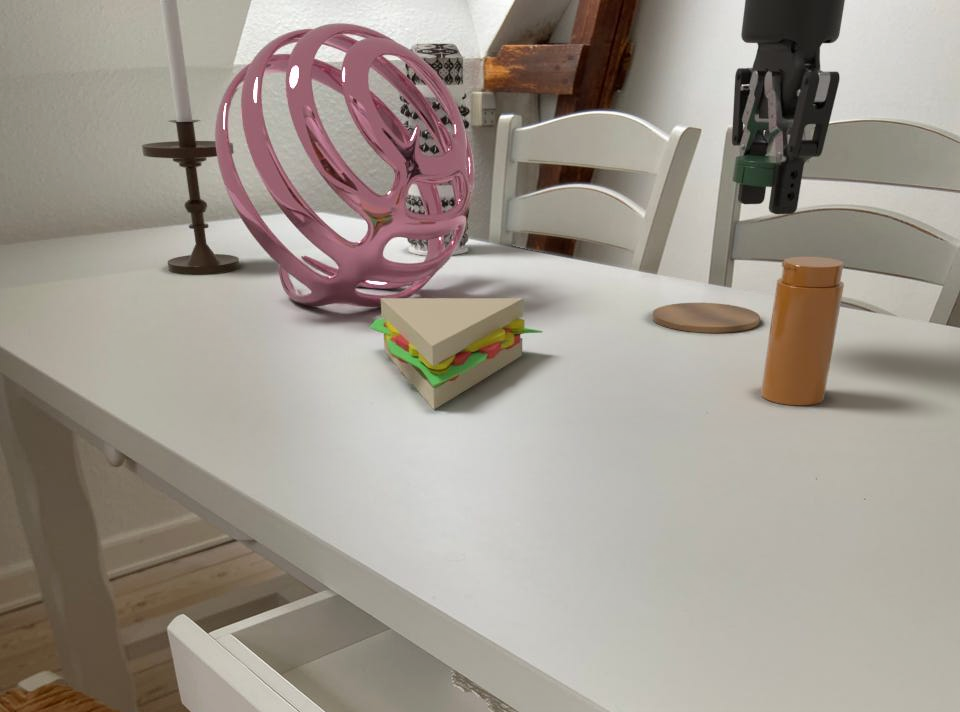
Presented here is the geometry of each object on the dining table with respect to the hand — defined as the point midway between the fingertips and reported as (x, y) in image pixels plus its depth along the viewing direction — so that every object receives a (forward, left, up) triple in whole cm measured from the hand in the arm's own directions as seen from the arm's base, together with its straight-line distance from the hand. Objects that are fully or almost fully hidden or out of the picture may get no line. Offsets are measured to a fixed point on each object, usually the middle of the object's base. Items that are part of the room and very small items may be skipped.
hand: (765, 207), depth 86 cm
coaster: (-7, -13, -13) cm, 20 cm away
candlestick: (+29, -69, -13) cm, 76 cm away
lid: (0, 0, +3) cm, 3 cm away
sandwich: (+27, -10, -13) cm, 32 cm away
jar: (+5, +11, -13) cm, 17 cm away
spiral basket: (+20, -40, -13) cm, 47 cm away
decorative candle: (-3, -64, -13) cm, 65 cm away
